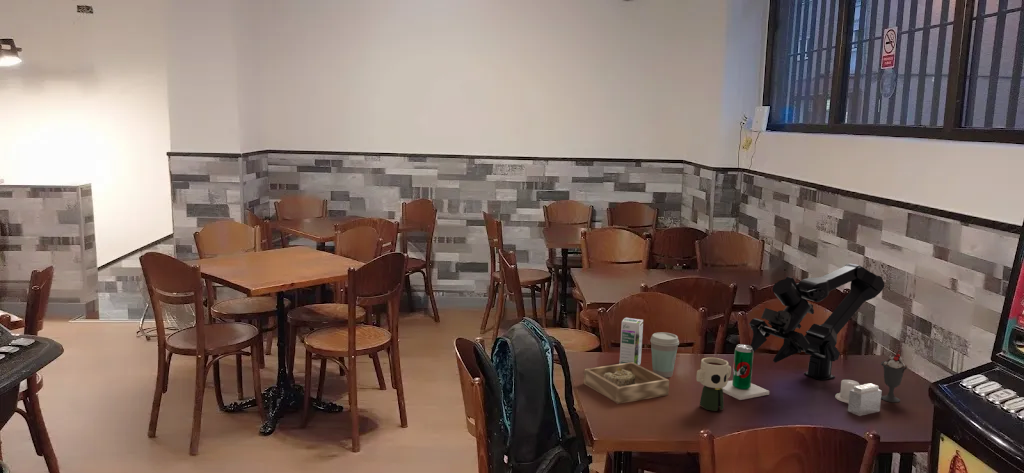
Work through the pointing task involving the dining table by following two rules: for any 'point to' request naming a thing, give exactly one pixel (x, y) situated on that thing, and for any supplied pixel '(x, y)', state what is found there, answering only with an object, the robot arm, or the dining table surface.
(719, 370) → the character mug
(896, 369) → the sundae
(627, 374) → the coiled snake
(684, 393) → the dining table surface
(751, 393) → the coaster
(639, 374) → the bread tray
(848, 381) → the white flanged peg
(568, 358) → the dining table surface
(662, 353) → the coffee cup
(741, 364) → the soda can
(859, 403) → the napkin holder
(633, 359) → the syrup box
